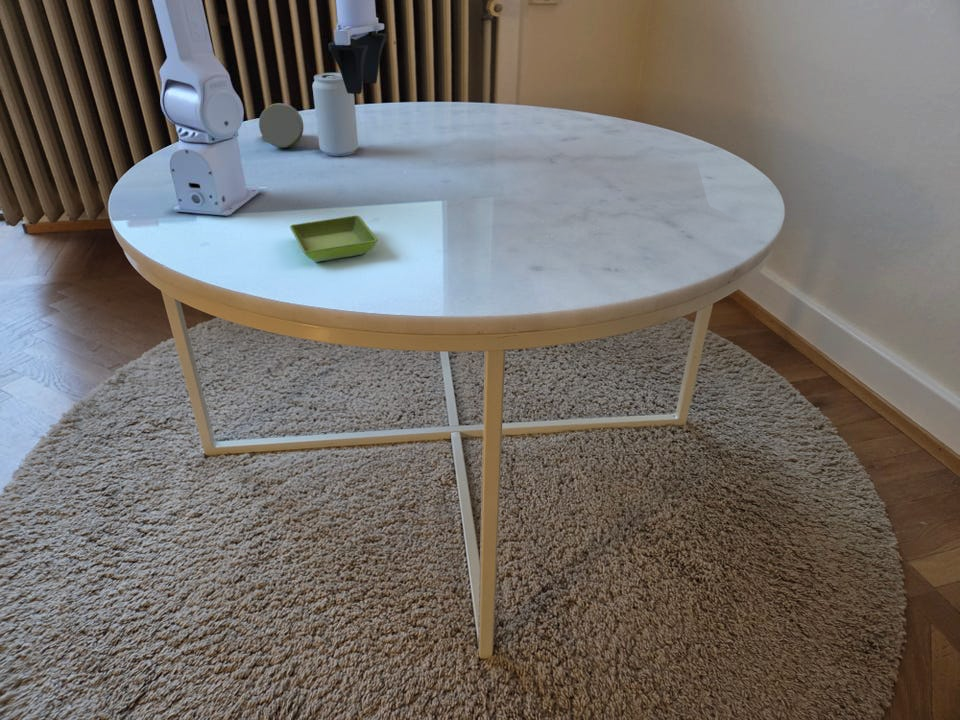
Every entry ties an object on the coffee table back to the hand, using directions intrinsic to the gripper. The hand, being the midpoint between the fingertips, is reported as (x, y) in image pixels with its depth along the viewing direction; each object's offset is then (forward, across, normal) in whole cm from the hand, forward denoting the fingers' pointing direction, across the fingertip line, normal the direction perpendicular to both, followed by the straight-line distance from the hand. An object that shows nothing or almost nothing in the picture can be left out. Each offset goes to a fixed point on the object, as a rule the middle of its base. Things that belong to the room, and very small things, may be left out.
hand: (362, 87), depth 107 cm
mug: (+11, +3, +16) cm, 19 cm away
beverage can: (+11, 0, +5) cm, 12 cm away
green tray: (+11, -37, -8) cm, 39 cm away
